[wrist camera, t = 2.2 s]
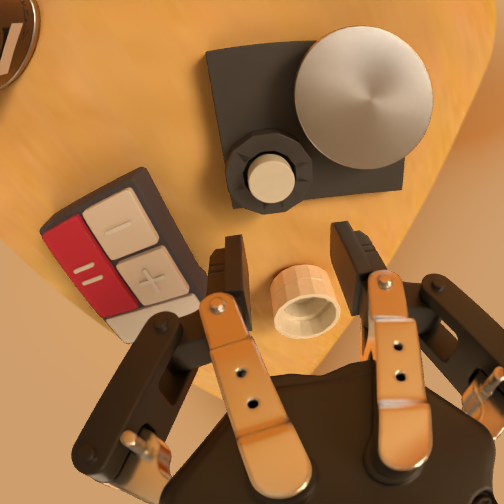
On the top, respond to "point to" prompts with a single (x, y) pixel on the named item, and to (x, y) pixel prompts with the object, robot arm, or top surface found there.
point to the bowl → (304, 302)
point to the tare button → (270, 178)
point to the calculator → (126, 254)
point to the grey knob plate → (277, 128)
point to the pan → (363, 97)
